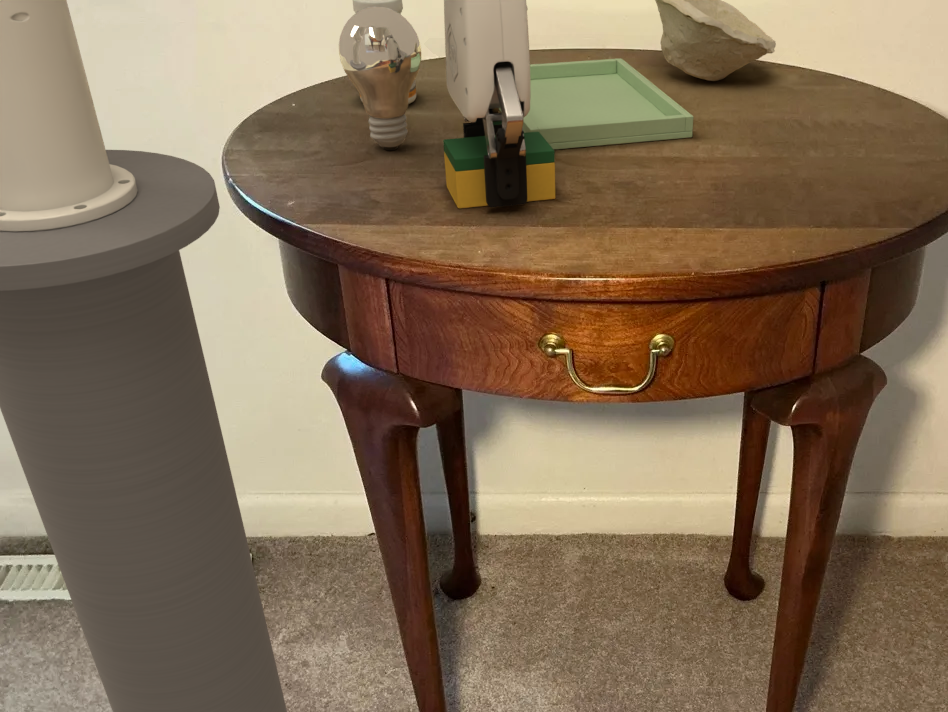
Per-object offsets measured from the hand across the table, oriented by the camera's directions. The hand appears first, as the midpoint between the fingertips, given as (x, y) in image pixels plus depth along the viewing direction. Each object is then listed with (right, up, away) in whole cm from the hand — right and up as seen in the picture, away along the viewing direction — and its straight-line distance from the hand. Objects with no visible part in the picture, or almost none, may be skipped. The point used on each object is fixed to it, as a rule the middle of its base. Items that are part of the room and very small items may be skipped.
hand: (495, 185), depth 86 cm
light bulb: (-10, +5, +9) cm, 15 cm away
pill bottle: (-13, +14, +21) cm, 28 cm away
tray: (+6, +12, +19) cm, 24 cm away
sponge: (0, -1, 0) cm, 1 cm away
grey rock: (+20, +19, +30) cm, 41 cm away
